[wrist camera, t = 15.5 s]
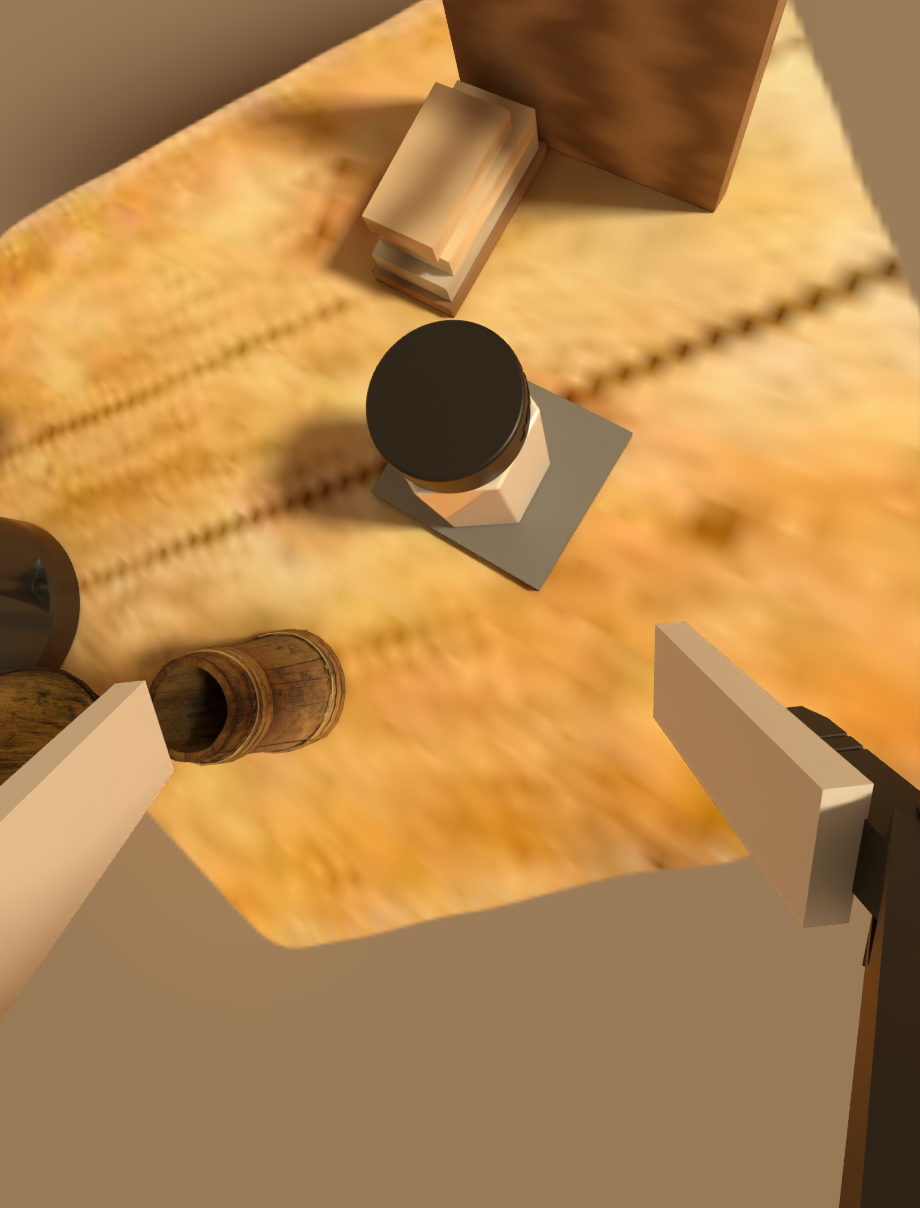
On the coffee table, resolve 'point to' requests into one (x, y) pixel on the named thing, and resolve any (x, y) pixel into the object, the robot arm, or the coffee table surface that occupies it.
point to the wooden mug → (195, 701)
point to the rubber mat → (556, 508)
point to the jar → (459, 422)
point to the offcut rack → (564, 120)
